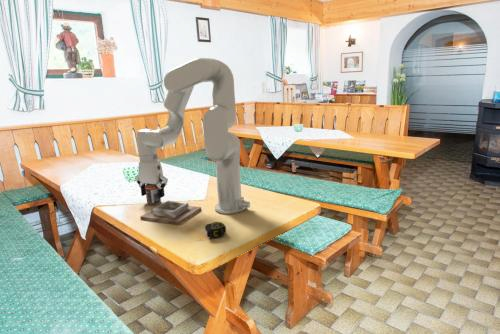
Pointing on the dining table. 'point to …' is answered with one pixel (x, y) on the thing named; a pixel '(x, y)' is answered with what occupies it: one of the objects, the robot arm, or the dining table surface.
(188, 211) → the holder
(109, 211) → the dining table surface
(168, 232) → the dining table surface
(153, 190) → the supplement bottle
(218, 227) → the tape measure
